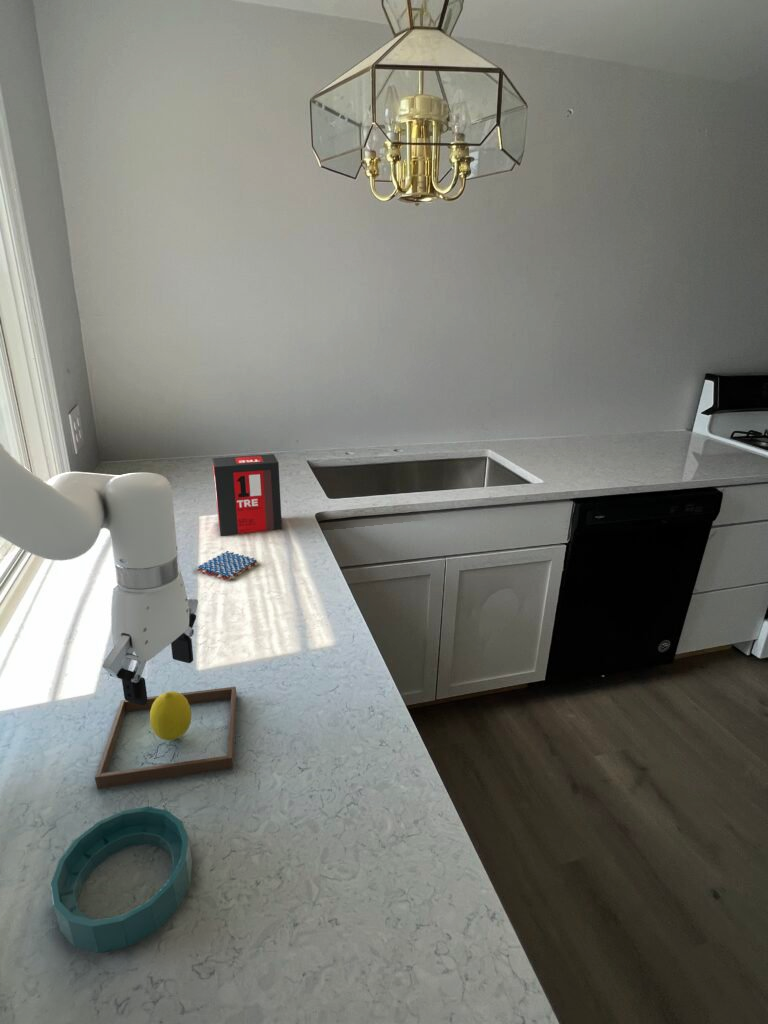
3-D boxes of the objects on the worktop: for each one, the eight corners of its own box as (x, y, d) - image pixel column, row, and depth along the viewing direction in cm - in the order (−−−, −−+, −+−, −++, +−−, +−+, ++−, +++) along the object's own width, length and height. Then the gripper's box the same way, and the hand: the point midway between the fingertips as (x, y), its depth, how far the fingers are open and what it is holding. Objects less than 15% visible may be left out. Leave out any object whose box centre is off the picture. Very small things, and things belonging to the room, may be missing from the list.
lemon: (145, 746, 80) (137, 701, 77) (171, 720, 84) (165, 677, 82) (177, 756, 78) (170, 711, 75) (202, 730, 83) (196, 686, 80)
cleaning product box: (220, 538, 150) (213, 466, 143) (219, 526, 158) (212, 458, 151) (282, 531, 155) (278, 462, 148) (277, 520, 163) (273, 454, 156)
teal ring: (41, 969, 54) (31, 938, 52) (80, 845, 66) (73, 817, 64) (184, 939, 56) (179, 909, 55) (197, 826, 68) (193, 799, 67)
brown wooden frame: (97, 792, 73) (94, 777, 72) (123, 713, 87) (120, 700, 86) (233, 772, 76) (231, 757, 75) (237, 699, 90) (235, 686, 89)
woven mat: (194, 573, 130) (194, 566, 130) (226, 556, 139) (225, 549, 138) (229, 584, 126) (228, 576, 125) (259, 566, 135) (258, 558, 134)
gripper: (167, 540, 80) (177, 641, 86) (70, 594, 65) (90, 713, 71) (212, 548, 78) (220, 651, 84) (123, 606, 63) (139, 728, 69)
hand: (161, 679), depth 77 cm, fingers open, 9 cm apart
